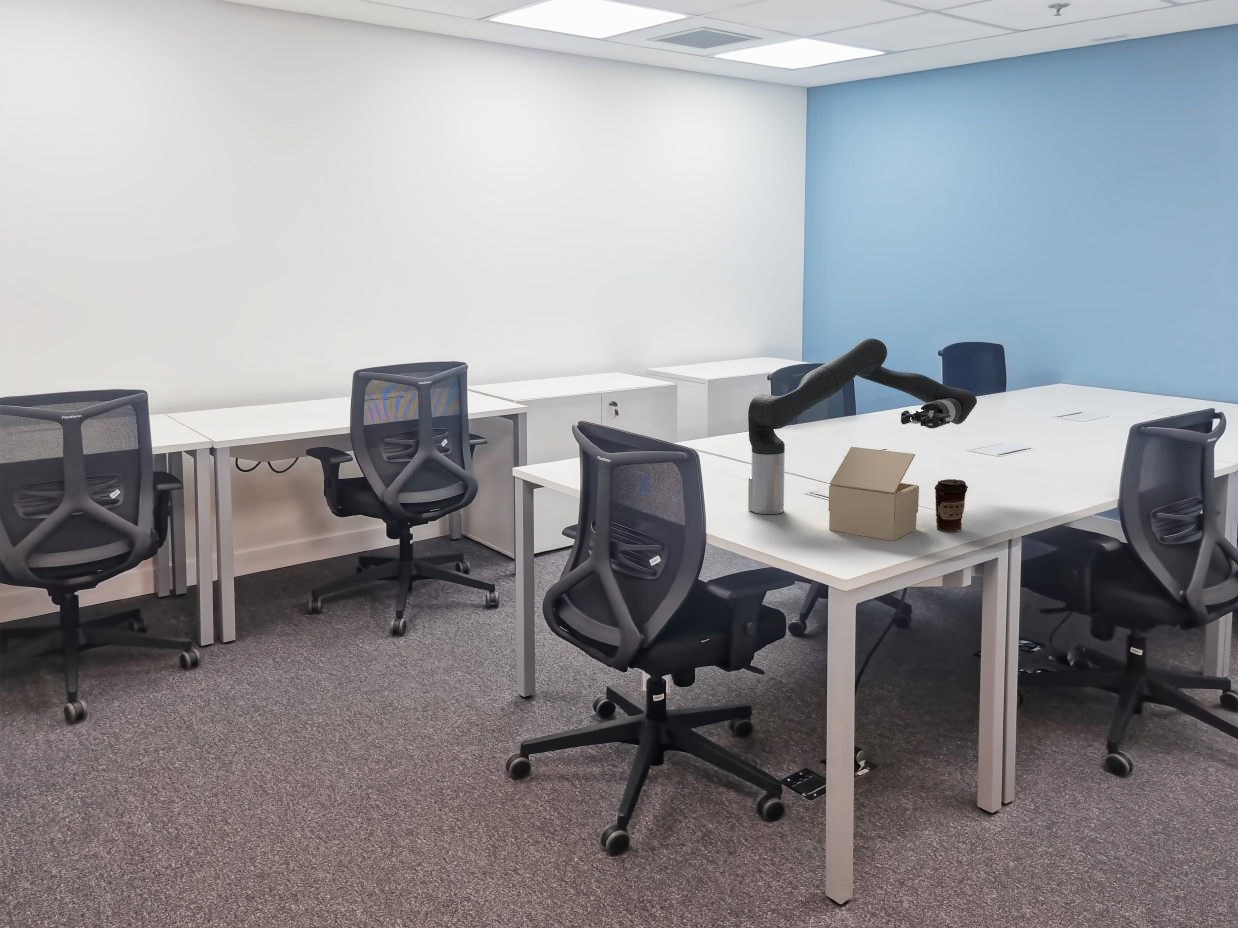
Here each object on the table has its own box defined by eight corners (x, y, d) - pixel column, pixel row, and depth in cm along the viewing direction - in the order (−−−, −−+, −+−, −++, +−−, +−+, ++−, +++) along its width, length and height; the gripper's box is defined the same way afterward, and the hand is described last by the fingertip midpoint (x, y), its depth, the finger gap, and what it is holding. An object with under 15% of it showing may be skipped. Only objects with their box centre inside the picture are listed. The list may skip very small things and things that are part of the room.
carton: (827, 529, 267) (828, 485, 264) (852, 518, 277) (853, 476, 275) (894, 541, 255) (896, 495, 252) (918, 529, 265) (919, 485, 263)
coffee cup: (971, 533, 261) (974, 484, 258) (939, 534, 260) (942, 485, 258) (958, 524, 269) (961, 477, 267) (928, 525, 269) (930, 478, 266)
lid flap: (830, 484, 264) (829, 483, 264) (851, 448, 271) (851, 446, 271) (894, 493, 253) (894, 492, 252) (915, 455, 260) (914, 453, 259)
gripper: (914, 399, 294) (888, 406, 281) (962, 402, 285) (938, 410, 272) (913, 424, 295) (887, 432, 283) (961, 428, 286) (936, 437, 274)
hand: (912, 421), depth 278 cm, fingers open, 5 cm apart
